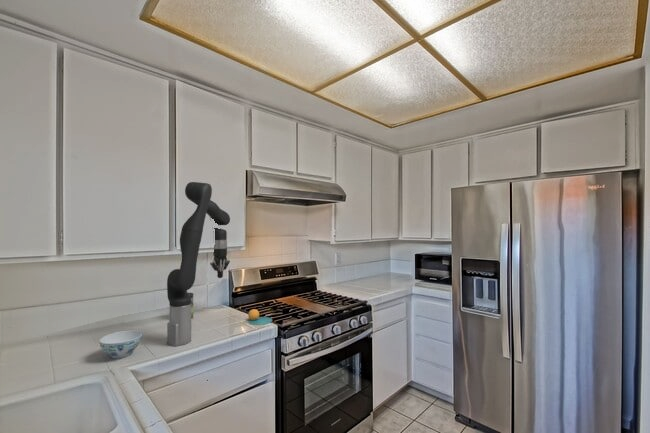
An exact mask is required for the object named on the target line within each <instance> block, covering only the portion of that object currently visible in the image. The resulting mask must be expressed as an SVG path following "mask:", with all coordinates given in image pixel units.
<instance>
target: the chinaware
mask: <svg viewBox="0 0 650 433" xmlns="http://www.w3.org/2000/svg"><path fill="white" fill-rule="evenodd" d="M142 337H143V332H142V331H141V330H137V329H136V330H135V329H131V330H130V329H128V330H122V331H116V332H112V333H109V334H105V335H104V336H102V337H101V338H99V340H98V342H99V346H100V348H101V350H102V351H103V352H104V353H105V354H106V355H109V356H111V358H112V359H122V358H127V357H128V356H130V355H131V354H132V352H133V351H135V349H137V347H138V345H139V344H140V342H141V341H142Z"/></svg>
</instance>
